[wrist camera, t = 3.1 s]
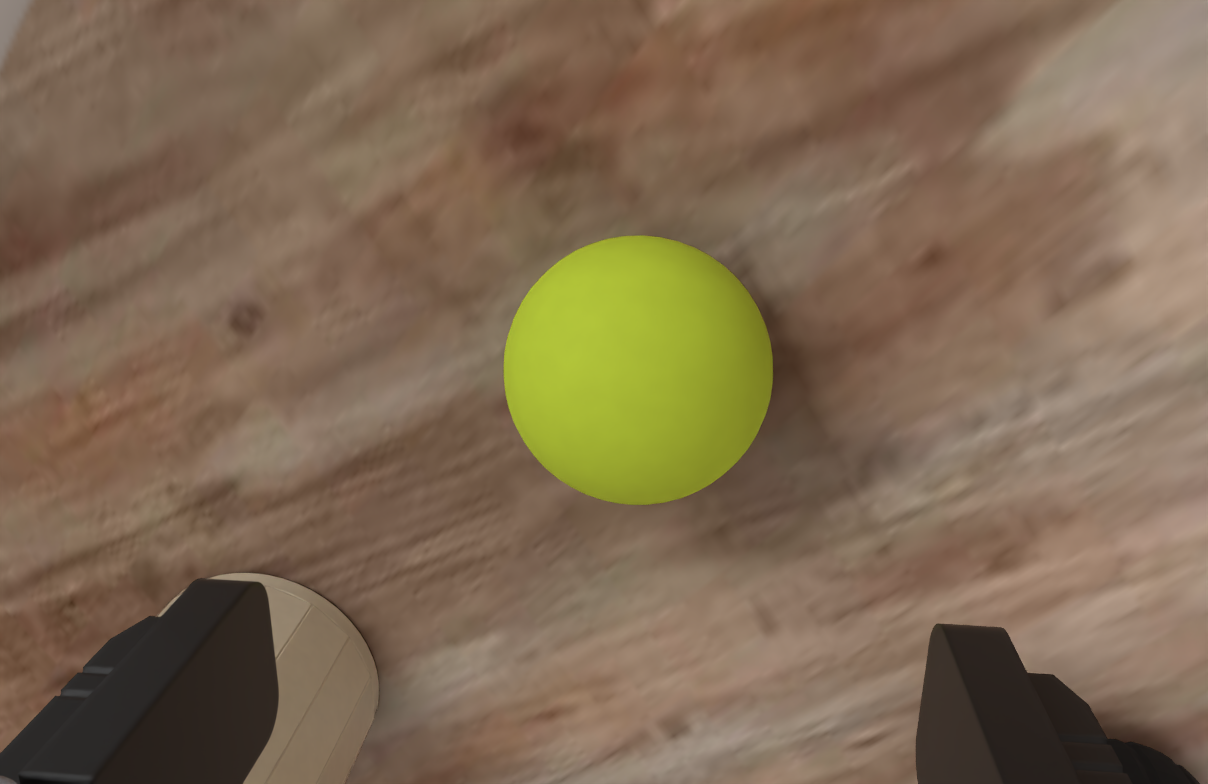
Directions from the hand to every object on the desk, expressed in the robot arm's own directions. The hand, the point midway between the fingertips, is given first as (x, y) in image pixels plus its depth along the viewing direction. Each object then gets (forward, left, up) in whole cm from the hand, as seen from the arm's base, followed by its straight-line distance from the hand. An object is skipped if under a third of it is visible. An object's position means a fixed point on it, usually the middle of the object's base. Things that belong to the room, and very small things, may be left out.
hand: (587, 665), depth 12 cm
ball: (0, 0, -11) cm, 11 cm away
